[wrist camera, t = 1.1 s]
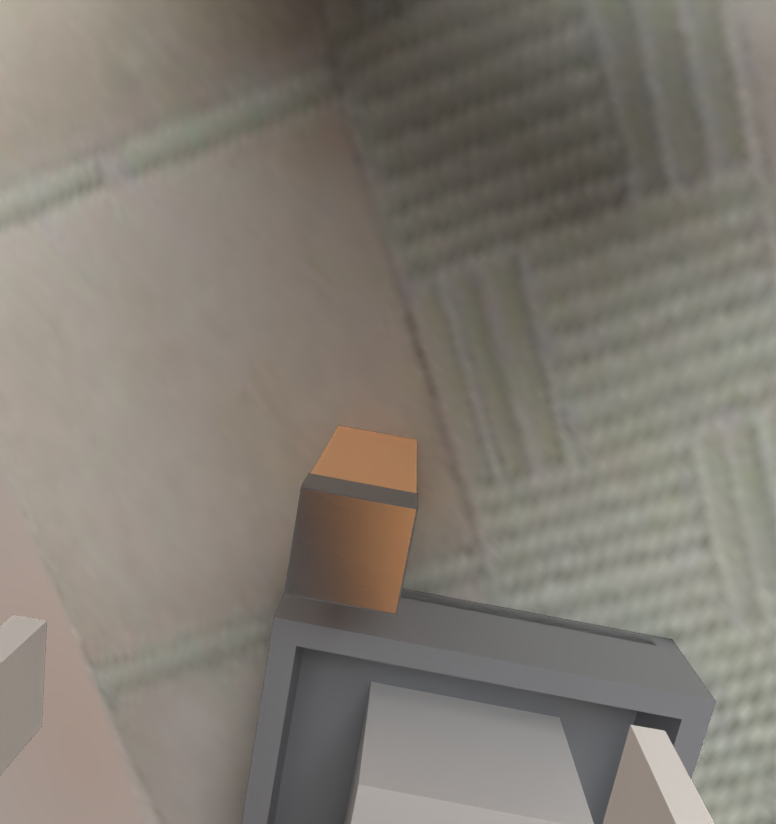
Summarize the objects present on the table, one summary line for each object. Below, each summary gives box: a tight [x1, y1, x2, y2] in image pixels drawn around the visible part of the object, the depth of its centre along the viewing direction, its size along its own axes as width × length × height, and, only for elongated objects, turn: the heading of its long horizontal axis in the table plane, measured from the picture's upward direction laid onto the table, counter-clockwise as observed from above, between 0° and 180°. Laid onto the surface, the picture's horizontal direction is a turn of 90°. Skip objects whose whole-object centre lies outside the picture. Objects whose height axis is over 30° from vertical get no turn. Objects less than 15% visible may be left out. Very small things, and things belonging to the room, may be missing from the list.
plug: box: [284, 425, 418, 615], centre depth 27 cm, size 4×4×10 cm
